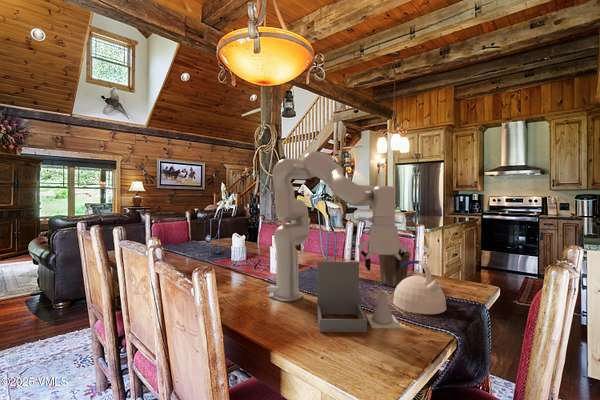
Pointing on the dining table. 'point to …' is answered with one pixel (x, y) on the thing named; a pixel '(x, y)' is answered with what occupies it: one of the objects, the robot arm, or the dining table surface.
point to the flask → (382, 310)
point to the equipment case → (339, 296)
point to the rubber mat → (376, 325)
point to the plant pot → (388, 272)
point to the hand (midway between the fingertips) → (382, 269)
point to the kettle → (420, 293)
